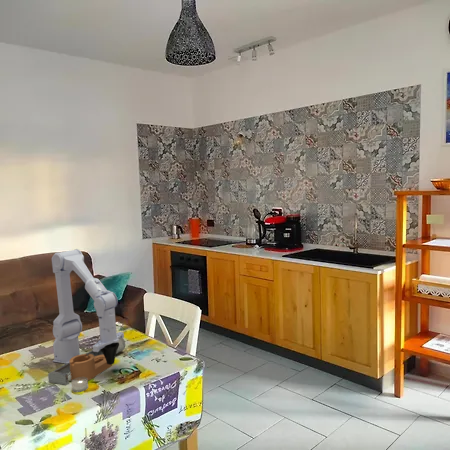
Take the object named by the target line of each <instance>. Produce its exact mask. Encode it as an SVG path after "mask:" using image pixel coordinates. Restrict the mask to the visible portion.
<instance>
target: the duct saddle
mask: <svg viewBox="0 0 450 450" xmlns="http://www.w3.org/2000/svg"><path fill="white" fill-rule="evenodd" d="M118 343H119V347H118V349H117V352H116V355H118V354H119V353H121V352H123V350H125V349H126V341H125V339H124V338H120V339H119V341H118ZM85 354H87V356H88V355H89V354H92V355H94V357H95V356H98V355H104V354H103V353H102V351H101V350H99V351H98V352H94V351H93V349H91V350H89V351H88V352H86V353H85ZM69 372H70V362H69V363H67V364H66V363H64V364H63V365H62V366H60V367H58V368H56V369H55V370H52V371H50V372H49V373H47V377H48V379H47V380H48V382H49V383H52V384H57V385H62V386H67V385H69V384H70V383H69V374H68V373H69Z"/></svg>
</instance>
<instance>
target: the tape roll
mask: <svg viewBox="0 0 450 450" xmlns="http://www.w3.org/2000/svg"><path fill="white" fill-rule="evenodd" d="M88 382H89V380H87V377H78V378H75V379H73V380H71V389H72V392H73V393H81V392H84V391H87V389H88V388H89V383H88Z"/></svg>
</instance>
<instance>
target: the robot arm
mask: <svg viewBox="0 0 450 450" xmlns="http://www.w3.org/2000/svg"><path fill="white" fill-rule="evenodd" d="M51 267H52V273H53V274H54V278H55V284H56V287H55V288H56V293H57V304H58V311H59V314H58V315H57V317H56V318H55V319H54V320H53V323H52V324H53V327H52V335H53V337H54V338H55V339H54V341H53V344H52V349H53V357H54V359H53V360H52V362H54V363H59V364H67V363H69V360H70V359H71V358H72V357H74V356H77V355H81V353H80V341H79V340H80V339H79V336H80V333H82V330H83V323H82V321H81V317H80V315H79V314H77V313H75V311H74V302H73V296H72V295H73V294H72V293H73V292H72V283H71V276H70V275H71V272H72V271H73V272H74V273H75V274H76V275H77V276H78V277H79V278H80V279H81V280H82V282H83V283H84V284H85V285H84V289H85V290H86V292H87V294H89V296H90V298H92V300H93V308H94V309H95V311H96V315H97V317H98V327H99V340H98V341H97V342H96V343H95V344H94V345H93V346H92V350H93V351H94V352H98V351H99V350H101V351H102V353H103V354H104V356H105V359H106V361H107V364H110V365H112V366H113V365H114V364H115V361H116V355H117V354H116V352H117V349H118V347H119V343H118V341H119V339H120V338H123V339H124V338H125V334H124V331H123V332H122V331H118V332H117V323H116V322H117V321H116V307H118V297H117V295H116V293H115V292H113V291H111V290H107V288H106V287H105V285H104V284H103V283H102V282H101V281H100V279H99V278H96V277H94V276H93V275H92V273H91V271H90V270H89V268H88V267H87V265H86V263H85V256H84V255H83V253H82V250H80V249H78V248H76V249H72V250H66V251H58V252H55V253H54V254H53V255H52V257H51Z"/></svg>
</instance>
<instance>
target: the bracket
mask: <svg viewBox="0 0 450 450" xmlns="http://www.w3.org/2000/svg"><path fill="white" fill-rule="evenodd" d="M69 362H70V380H71V381H72V380H73V379H75V378H78V377H87V380H88V381H90V380H92V379H94V378H96V377H97V376H99V375H100V374H101V373H103V372H104V371H106V370H107V369H109V368H110V367H111V366H113V364H112V365H110V364H107V361H106V359H105V356H104V355H98V356H95V357H94V355H92V354H89V355H88V356H87V354H86V353H82V354H81V353H80V355H77V356H74V357H72V358H71V359H70V360H69Z"/></svg>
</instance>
